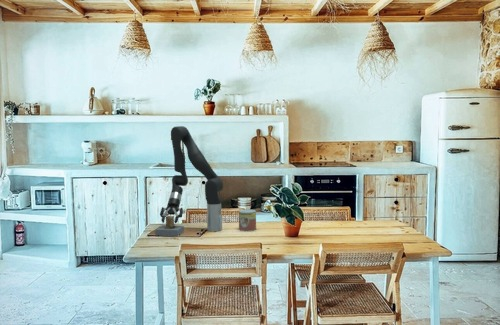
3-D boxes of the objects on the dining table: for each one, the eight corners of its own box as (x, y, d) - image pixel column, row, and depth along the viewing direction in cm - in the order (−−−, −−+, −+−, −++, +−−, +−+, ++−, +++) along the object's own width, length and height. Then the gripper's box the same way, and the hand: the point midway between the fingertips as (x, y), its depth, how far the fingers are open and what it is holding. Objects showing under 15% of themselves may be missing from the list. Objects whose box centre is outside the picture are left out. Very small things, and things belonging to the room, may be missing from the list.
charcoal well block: (183, 231, 281) (183, 225, 281) (177, 236, 269) (177, 230, 269) (162, 231, 284) (162, 225, 283) (155, 235, 272) (155, 229, 271)
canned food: (236, 230, 284) (235, 212, 283) (242, 226, 294) (242, 208, 293) (252, 231, 280) (252, 213, 279) (258, 228, 290) (258, 209, 289)
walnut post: (174, 233, 278) (173, 215, 277) (172, 234, 274) (172, 217, 273) (168, 233, 279) (167, 215, 278) (166, 234, 275) (165, 217, 274)
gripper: (162, 197, 283) (156, 218, 273) (184, 197, 281) (178, 219, 270) (165, 203, 289) (159, 225, 278) (186, 204, 287) (181, 225, 276)
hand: (169, 222), depth 274 cm, fingers open, 7 cm apart
